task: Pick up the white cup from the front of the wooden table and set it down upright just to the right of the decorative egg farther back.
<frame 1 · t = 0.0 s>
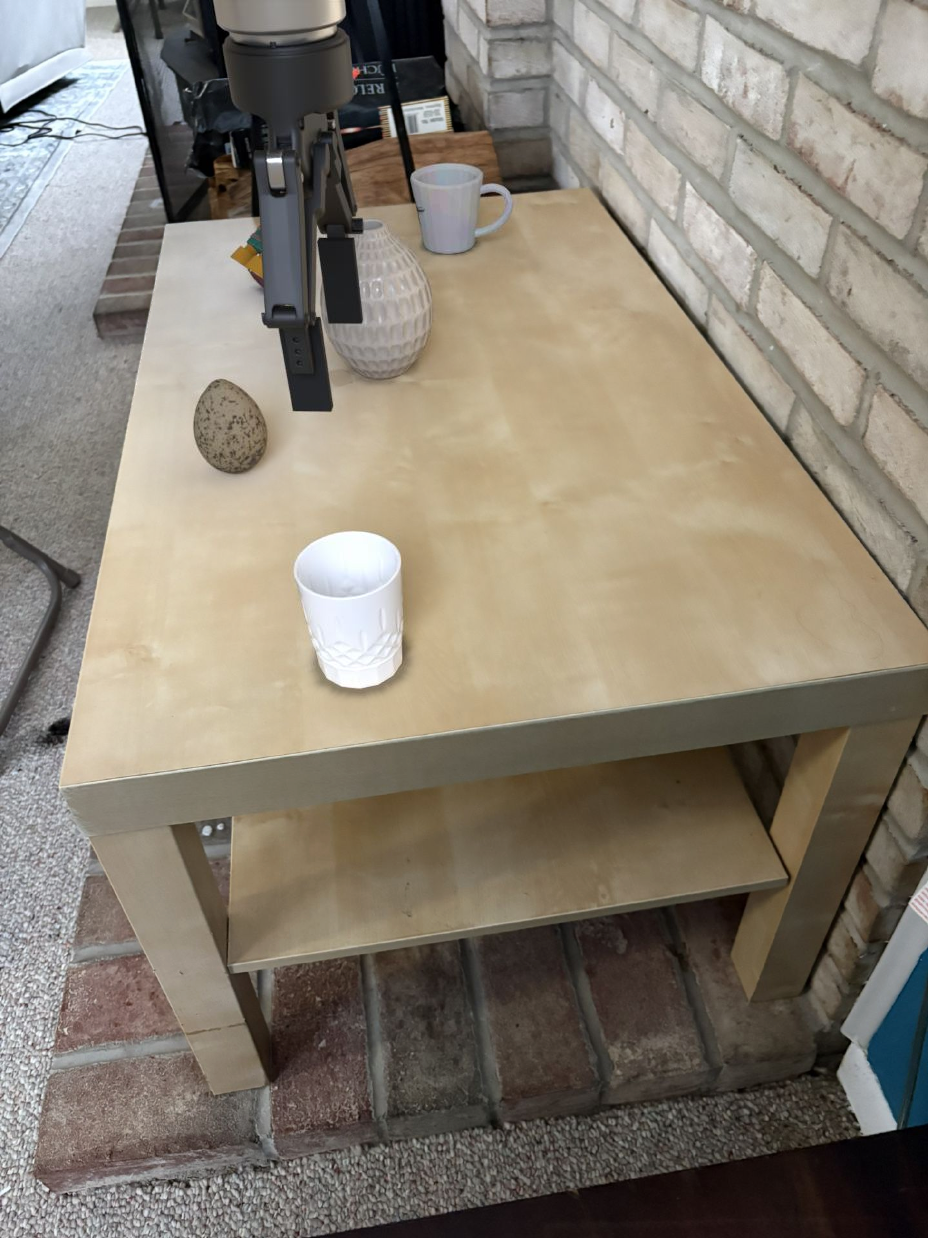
hand: (330, 362, 69), 20 cm above the table, tool pointing down, fingers open, 13 cm apart
white cup: (361, 660, 74), on the table
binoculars: (274, 294, 127), on the table
mug: (464, 246, 138), on the table
vase: (383, 368, 110), on the table
decorative egg: (239, 469, 95), on the table
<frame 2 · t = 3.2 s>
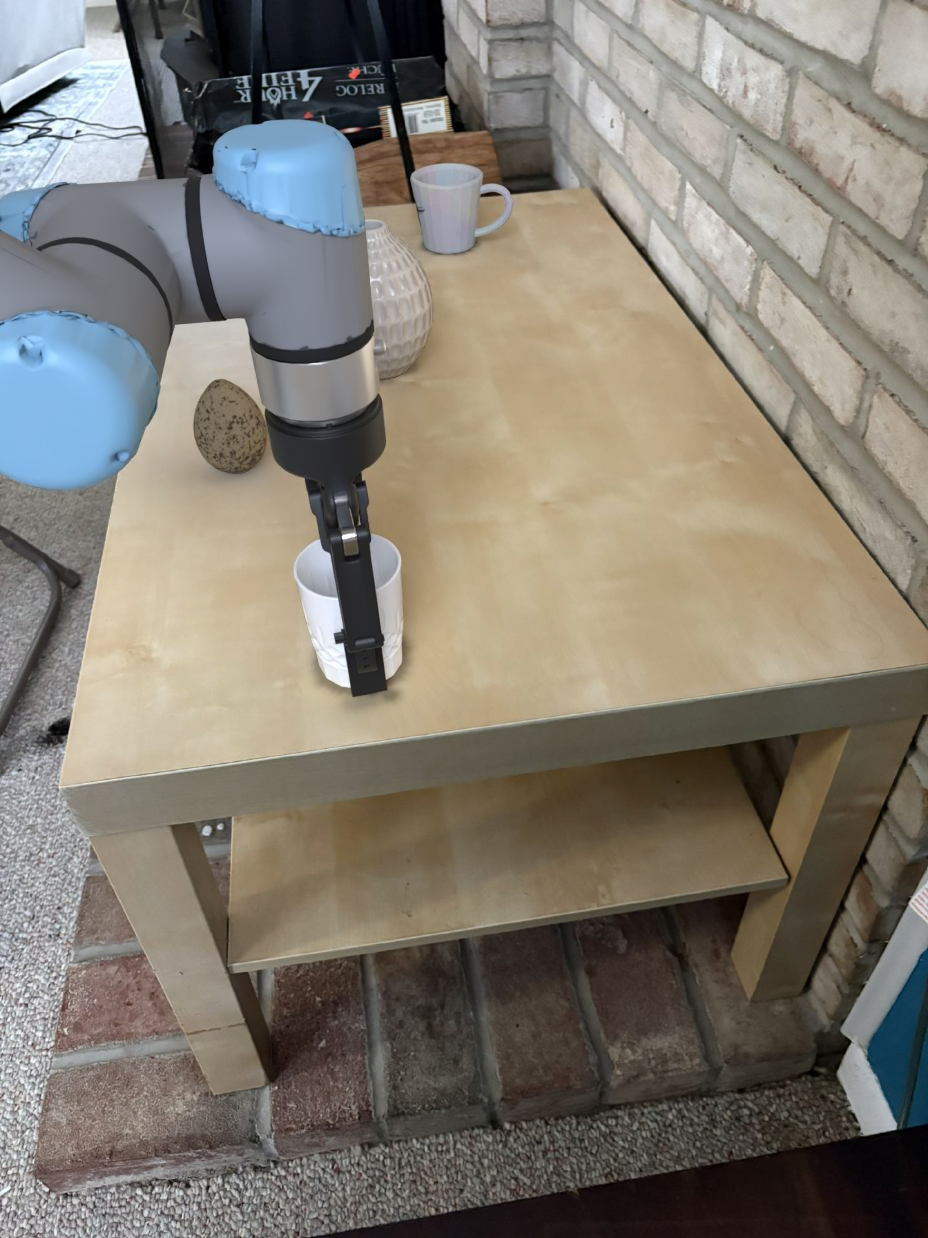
hand: (360, 653, 74), 1 cm above the table, tool pointing down, fingers closed on white cup, 8 cm apart
white cup: (361, 660, 74), on the table, touching gripper
everything else where it was.
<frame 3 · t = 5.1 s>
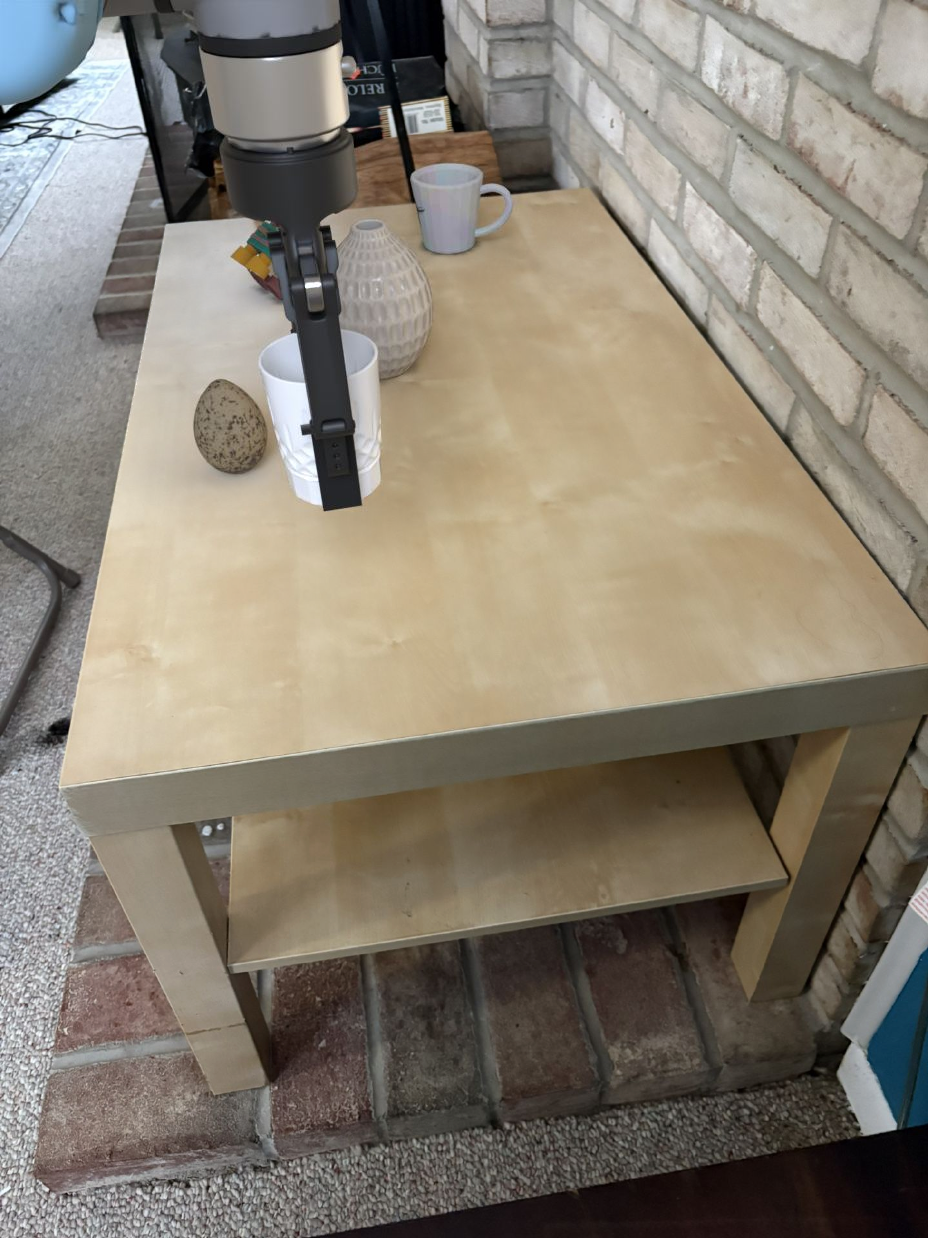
hand: (334, 472, 67), 15 cm above the table, tool pointing down, fingers closed on white cup, 8 cm apart
white cup: (336, 482, 68), point 14 cm above the table, touching gripper
everything else where it was.
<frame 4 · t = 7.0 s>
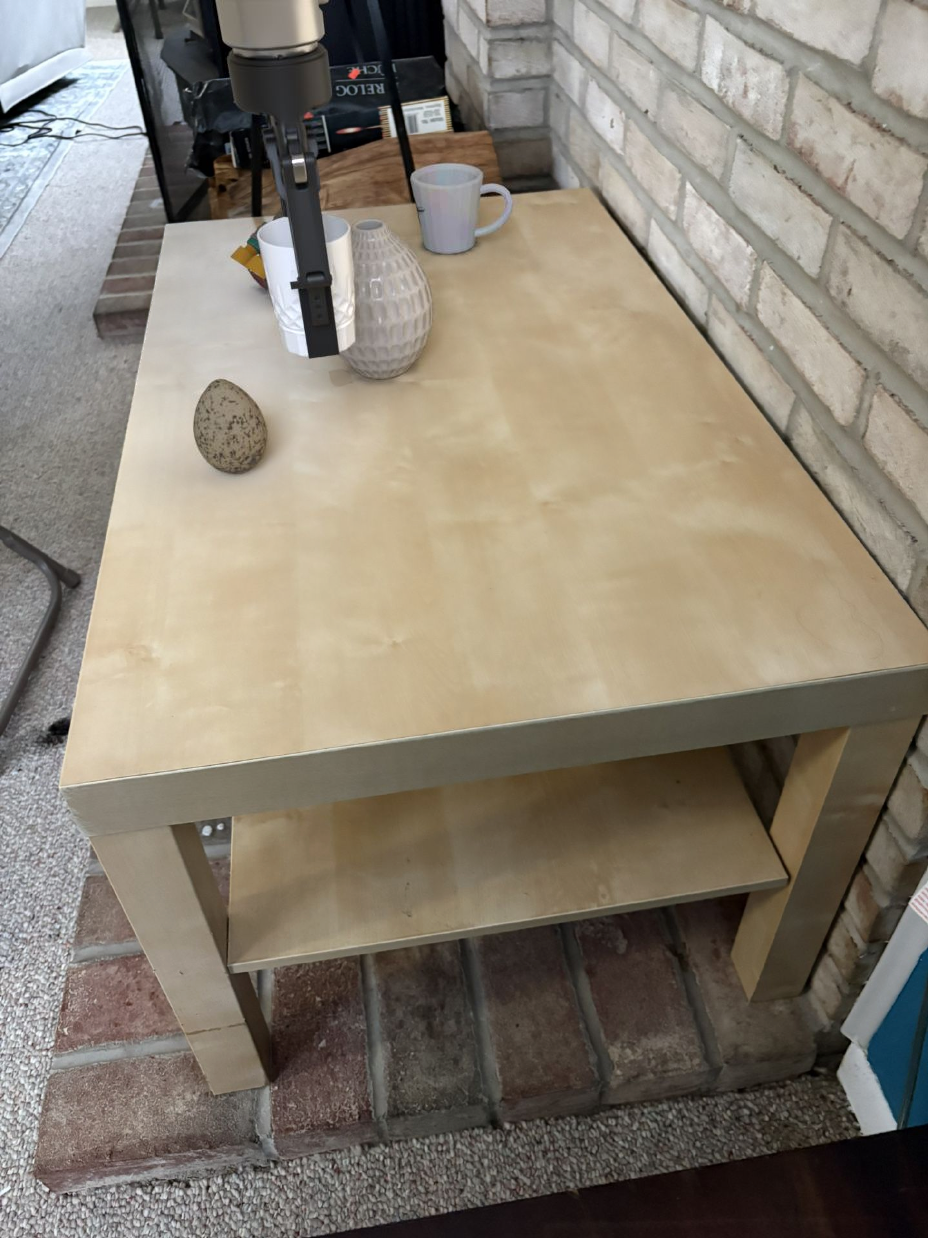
hand: (318, 333, 84), 15 cm above the table, tool pointing down, fingers closed on white cup, 8 cm apart
white cup: (319, 342, 85), point 14 cm above the table, touching gripper
everything else where it was.
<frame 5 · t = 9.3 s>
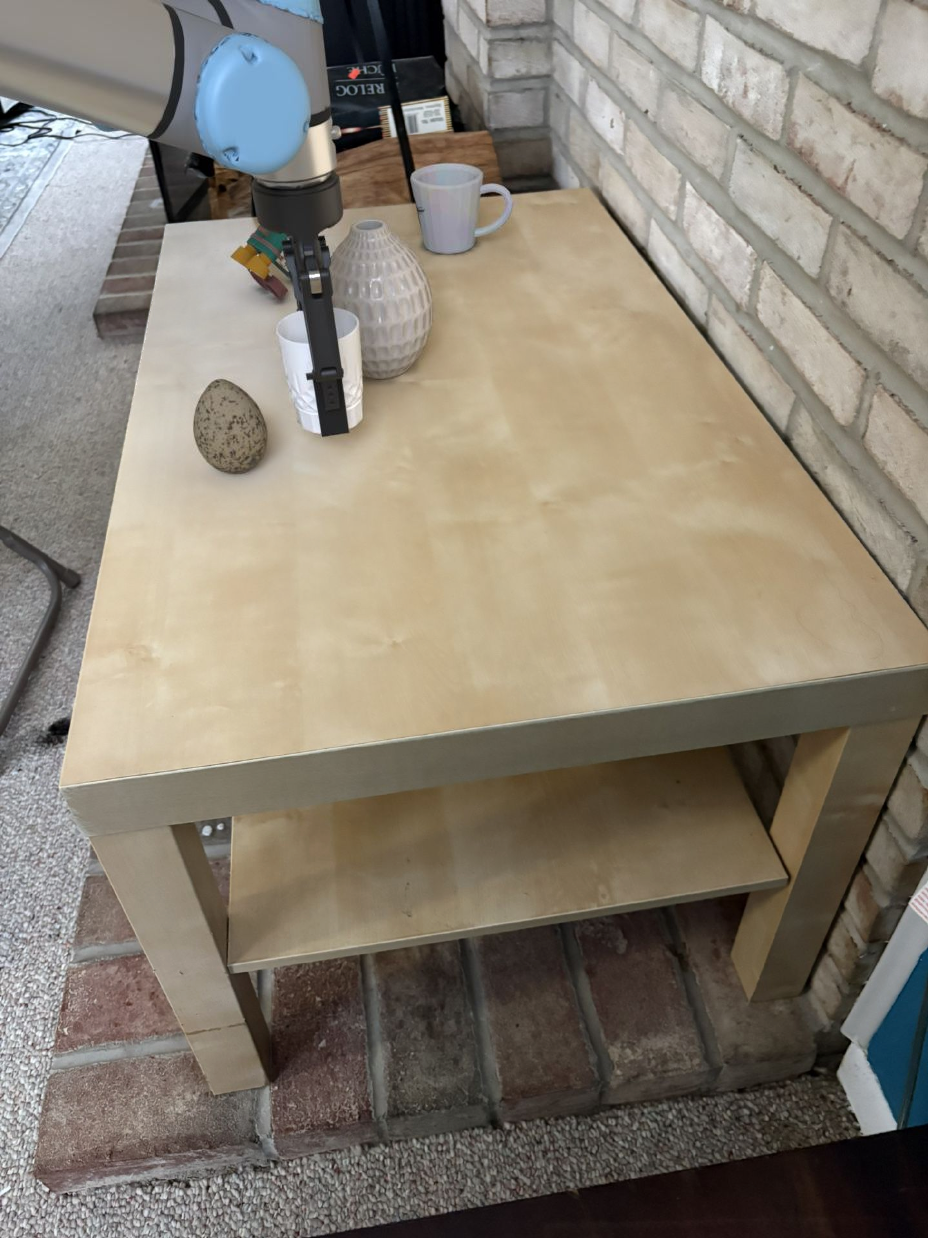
hand: (329, 411, 93), 5 cm above the table, tool pointing down, fingers closed on white cup, 8 cm apart
white cup: (331, 419, 94), point 4 cm above the table, touching gripper
everything else where it was.
when the fingers open (1 cm above the table, at t = 10.8 s): white cup stays where it is, on the table.
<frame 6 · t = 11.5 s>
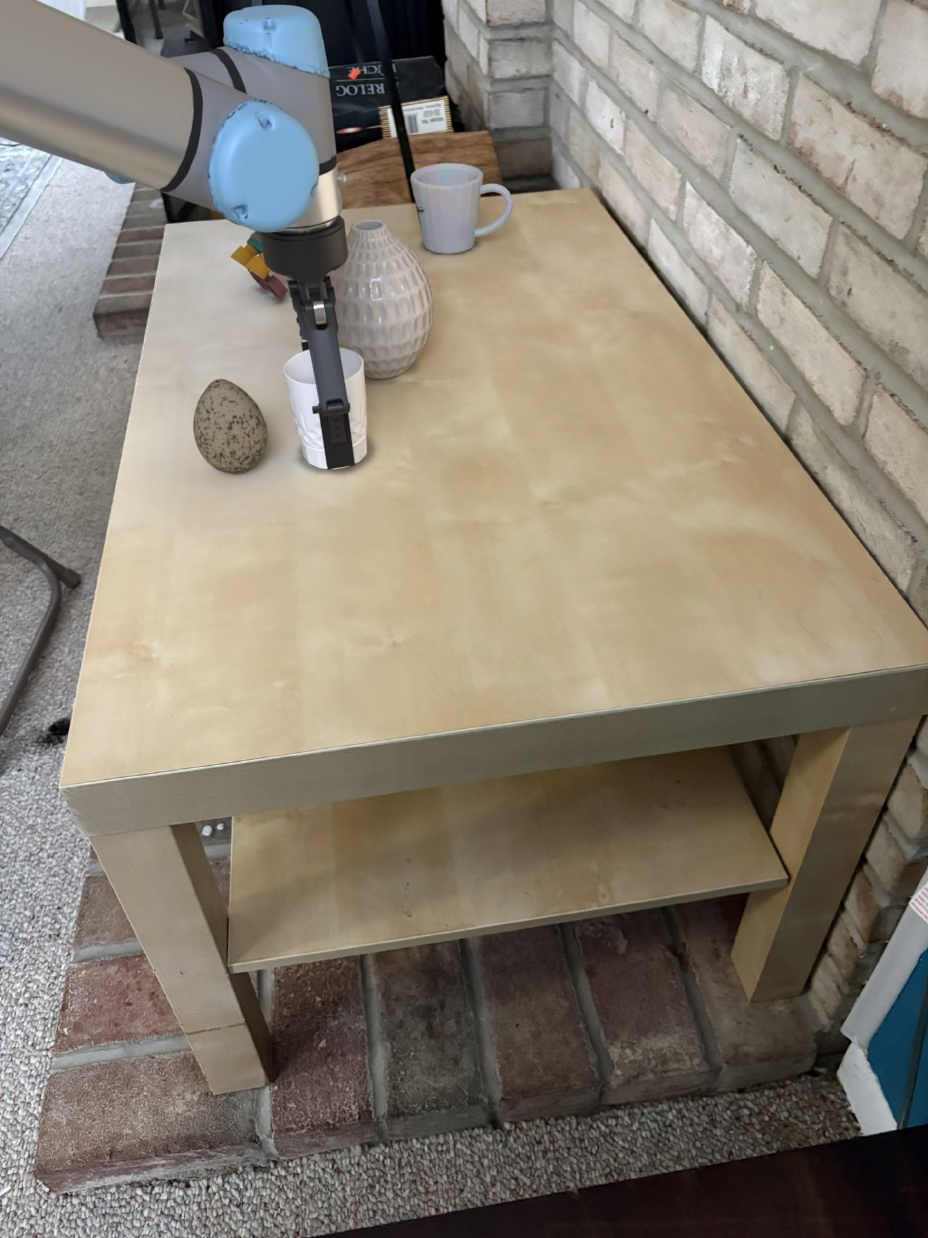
hand: (331, 430, 95), 3 cm above the table, tool pointing down, fingers open, 13 cm apart
white cup: (336, 454, 97), on the table
everything else where it was.
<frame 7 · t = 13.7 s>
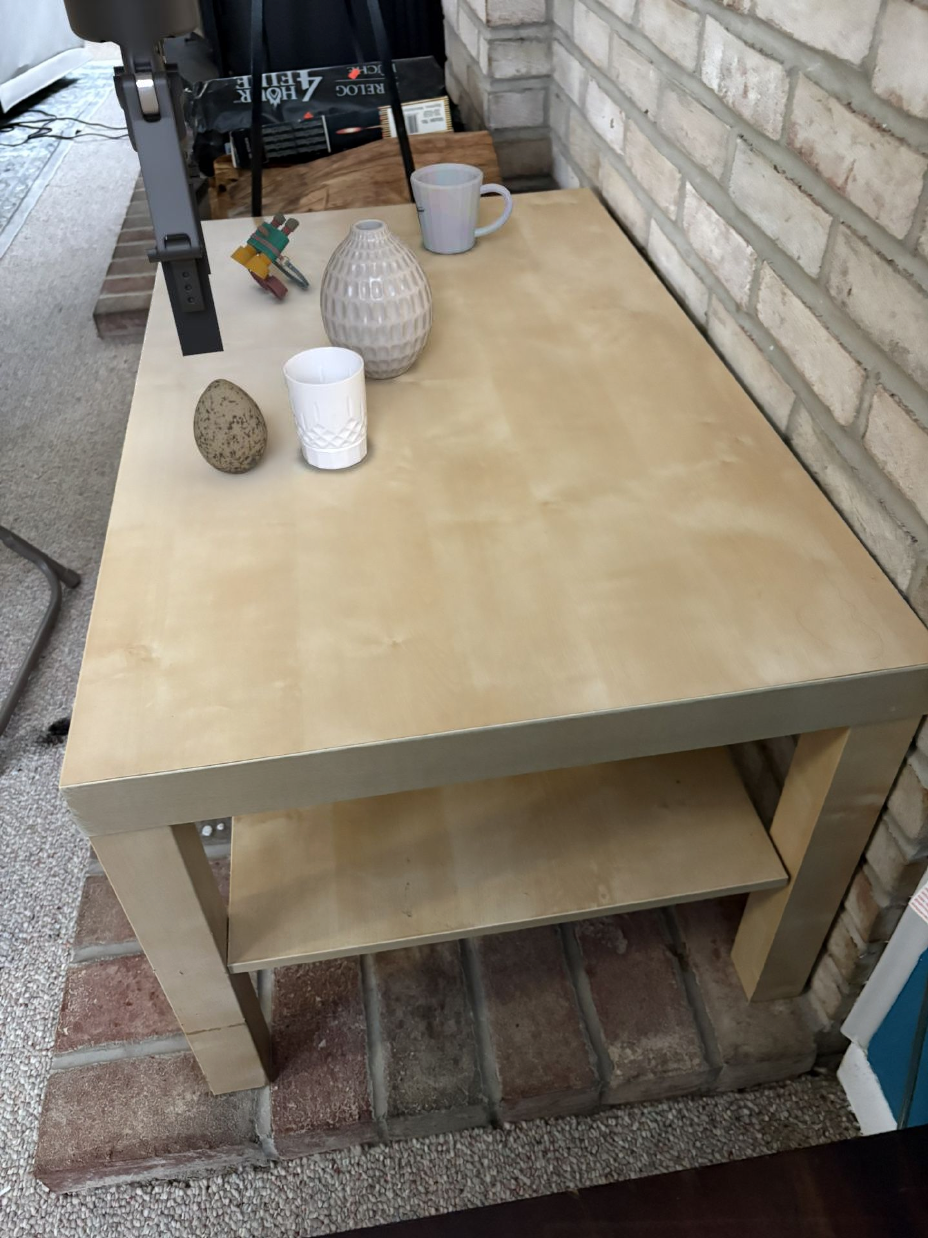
hand: (198, 310, 67), 24 cm above the table, tool pointing down, fingers open, 13 cm apart
nothing on the table moved.
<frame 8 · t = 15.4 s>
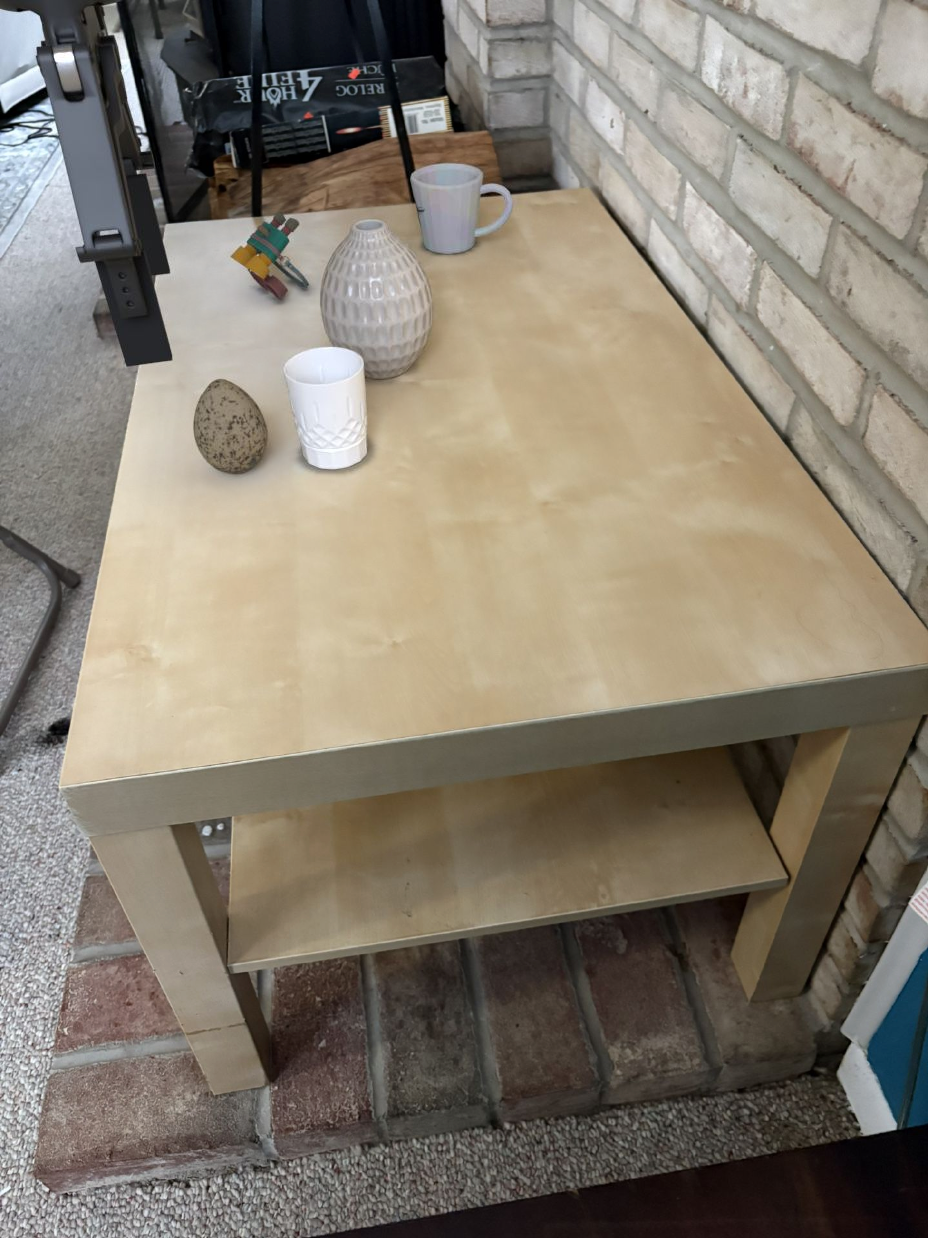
hand: (150, 314, 61), 27 cm above the table, tool pointing down, fingers open, 13 cm apart
nothing on the table moved.
at the end: white cup inside the target area on the table beside the decorative egg (1.2 cm from its centre), on the table; white cup tilted 0°; decorative egg moved 0.2 cm from its start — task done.
